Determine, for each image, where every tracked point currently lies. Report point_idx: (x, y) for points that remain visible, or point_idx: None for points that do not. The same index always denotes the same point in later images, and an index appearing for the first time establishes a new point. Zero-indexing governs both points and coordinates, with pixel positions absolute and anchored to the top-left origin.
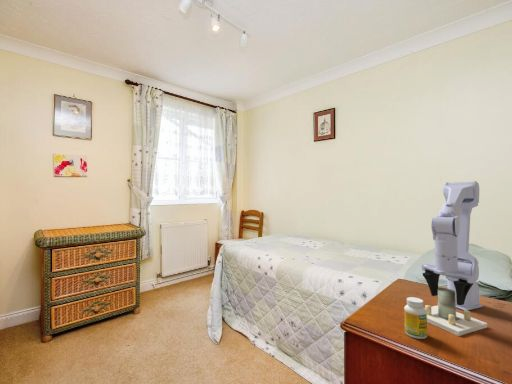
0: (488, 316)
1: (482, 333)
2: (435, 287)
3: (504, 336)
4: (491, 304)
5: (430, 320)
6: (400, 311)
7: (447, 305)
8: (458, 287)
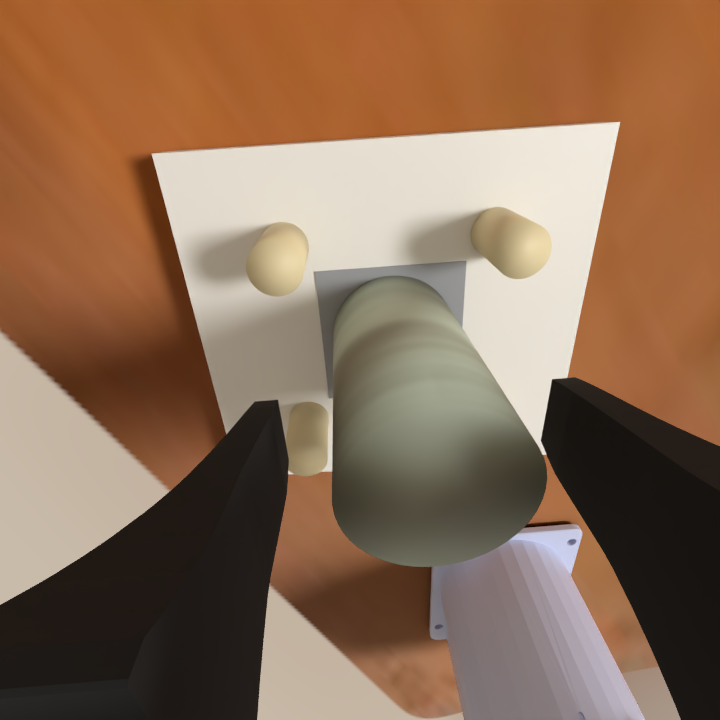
0: (345, 570)
1: (182, 365)
2: (601, 488)
3: (132, 441)
4: (432, 673)
5: (411, 135)
6: (705, 81)
7: (359, 343)
8: (115, 570)
